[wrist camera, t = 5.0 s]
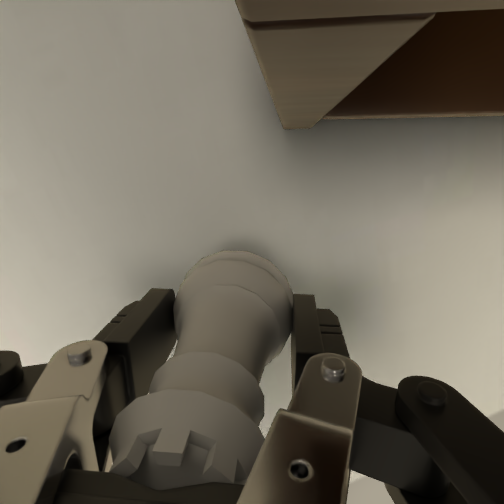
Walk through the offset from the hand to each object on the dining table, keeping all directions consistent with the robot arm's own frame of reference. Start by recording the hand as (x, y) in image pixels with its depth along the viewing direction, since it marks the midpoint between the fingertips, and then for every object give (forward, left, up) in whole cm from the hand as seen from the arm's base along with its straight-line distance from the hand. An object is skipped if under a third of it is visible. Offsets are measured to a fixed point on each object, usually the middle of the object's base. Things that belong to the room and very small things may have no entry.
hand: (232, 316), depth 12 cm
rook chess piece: (0, 0, -1) cm, 1 cm away
